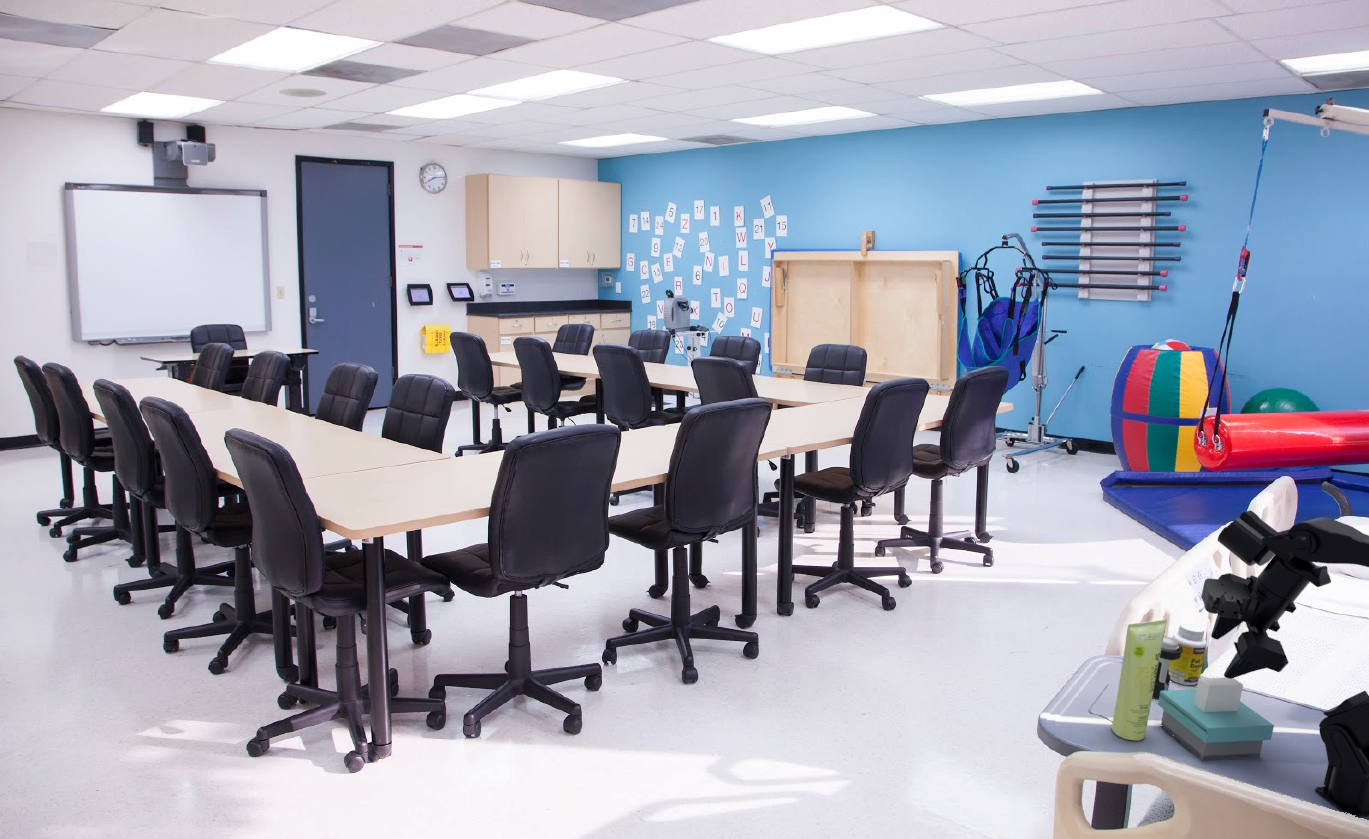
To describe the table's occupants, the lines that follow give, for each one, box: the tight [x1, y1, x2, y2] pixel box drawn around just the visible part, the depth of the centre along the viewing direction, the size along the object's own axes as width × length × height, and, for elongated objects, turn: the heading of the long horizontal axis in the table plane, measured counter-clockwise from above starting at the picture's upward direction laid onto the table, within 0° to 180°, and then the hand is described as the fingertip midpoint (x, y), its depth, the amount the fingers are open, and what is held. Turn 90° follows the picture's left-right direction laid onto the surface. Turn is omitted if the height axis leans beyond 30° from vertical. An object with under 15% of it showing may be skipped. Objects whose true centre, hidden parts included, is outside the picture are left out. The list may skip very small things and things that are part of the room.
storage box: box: [1160, 709, 1264, 762], centre depth 156 cm, size 10×10×5 cm
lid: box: [1157, 676, 1275, 743], centre depth 155 cm, size 11×11×7 cm
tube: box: [1111, 618, 1167, 741], centre depth 155 cm, size 6×5×20 cm
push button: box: [1152, 635, 1183, 700], centre depth 171 cm, size 7×5×10 cm
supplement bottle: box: [1168, 622, 1208, 686], centre depth 177 cm, size 6×6×10 cm
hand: (1220, 657), depth 157 cm, fingers open, 9 cm apart
